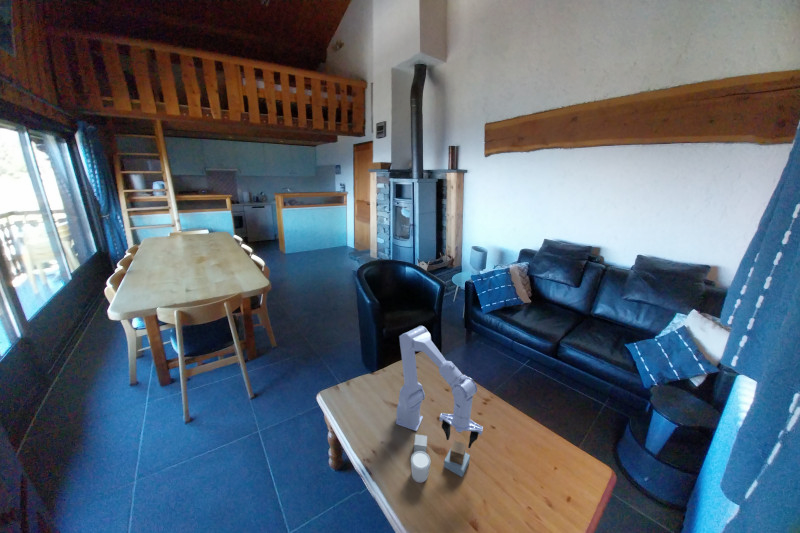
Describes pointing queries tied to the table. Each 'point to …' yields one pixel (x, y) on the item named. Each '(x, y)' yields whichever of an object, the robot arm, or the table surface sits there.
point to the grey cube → (420, 443)
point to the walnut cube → (457, 452)
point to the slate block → (457, 467)
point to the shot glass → (420, 466)
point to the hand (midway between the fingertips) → (458, 441)
